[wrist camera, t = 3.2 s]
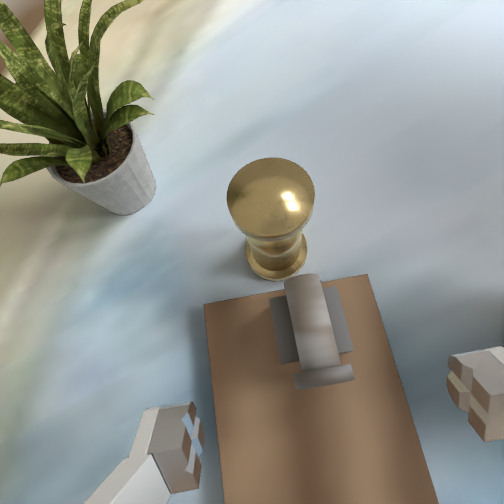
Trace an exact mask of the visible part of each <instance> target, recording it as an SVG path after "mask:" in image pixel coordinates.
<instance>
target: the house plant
mask: <svg viewBox="0 0 504 504" xmlns="http://www.w3.org/2000/svg"><path fill="white" fill-rule="evenodd" d="M142 1H144V0H125V1H123V2H120V3H118V4H116V5H114V6H113V7H111V8H110V9H109V10H108V11H107V12H106V13H104V14H103V15H102V17H101V18H100V20H99V21H98V23H97V25H96V26H95V28H94V31H93V34H92V36H91V41H90V47H89V23H90V13H91V2H92V0H83V2H82V6H81V9H80V15H79V27H78V36H79V46H78V47H77V48H76V50H75V51H74V52H72V55H71V58H70V60H69V59H68V55H67V50H66V45H65V40H64V33H63V26H64V25H66V24H63V23H62V14H61V0H44V12H45V22H46V29H47V36H46V40H45V45H46V51H47V54H48V56H49V59H50V62H51V64H52V66H53V68H54V71H55V72H54V71H53V70H52V69H51V67H50V66H49V65H48V63H47V62H46V60H45V59H44V57H43V55H42V54H41V52H40V51H39V49H38V48H37V46H36V45H35V43H34V42H33V40H32V39H31V37H30V36H29V35H28V33H27V32H26V30H25V29H24V27H23V26H22V25H21V23H20V22H19V21H18V19H17V18H16V17H15V16H14V14H13V13H12V12H11V11H10V9H9V8H8V7H7V6H6V5H5V4H4V3H3V2H1V1H0V28H1V29H2V31H3V32H4V34H5V35H6V37H7V38H8V40H9V41H10V43H11V44H12V45H13V47H14V48H15V50H16V51H17V53H18V54H19V56H20V57H21V58H22V59H21V58H20V57H19V56H18V55H17V54H15V53H14V52H13V51H12V50H11V49H9V48H8V47H7V46H6V45H5V44H3V43H2V42H1V41H0V56H2V57H3V58H4V61H5V64H6V66H7V68H8V70H9V72H10V74H11V75H12V77H13V78H14V80H15V81H16V83H15V84H14V83H13V82H11V81H10V80H8V79H7V78H5V77H4V76H2V75H1V74H0V108H1V109H2V110H3V111H5V112H6V113H7V114H9V115H10V116H12V117H14V118H15V119H17V120H19V121H20V122H22V123H24V124H26V125H23V124H17V123H12V122H8V121H3V120H0V128H1V129H7V130H12V131H17V132H22V133H27V134H33V135H38V136H43V137H45V138H46V139H47V140H48V141H49V144H41V143H15V144H0V153H1V154H6V155H13V156H29V155H39V156H38V157H30V158H24V159H20V160H17V161H14V162H13V163H12V164H10V165H9V166H8V167H7V169H6V170H5V171H4V173H3V176H2V179H1V182H0V186H1V184H2V183H4V182H9V181H14V180H16V179H19V178H22V177H24V176H26V175H29V174H31V173H33V172H36V171H38V170H41V169H43V168H46V167H47V169H48V171H49V173H50V174H51V176H52V177H53V178H54V179H56V180H57V181H58V182H60V183H61V184H63V185H65V186H66V187H68V188H70V189H72V190H73V191H75V192H77V193H79V194H80V195H82V196H84V197H86V198H87V199H89V200H91V201H93V202H94V203H96V204H98V205H100V206H102V207H103V208H105V209H107V210H109V211H110V212H112V213H115V214H118V215H129V214H133V213H135V212H137V211H139V210H140V209H142V208H143V207H145V206H146V205H147V204H148V203H149V202H150V201H151V200H152V198H153V196H154V194H155V190H156V182H155V179H154V176H153V174H152V171H151V169H150V166H149V164H148V161H147V158H146V156H145V153H144V151H143V148H142V146H141V143H140V141H139V138H138V135H137V133H136V130H135V128H134V125H133V123H132V122H131V121H133V120H134V119H136V118H138V117H139V116H143V115H146V114H152V113H150V112H148V111H146V110H145V109H143V108H141V107H140V106H138V105H126V104H129V103H131V102H133V101H135V100H137V99H140V98H142V97H150V98H152V97H151V96H150V95H149V93H148V92H147V91H146V90H145V89H144V87H143V86H142V85H141V84H140V83H138V82H135V81H130V80H127V81H125V82H123V83H121V84H120V85H119V86H118V87H117V88H116V89H115V90H114V91H113V93H112V94H111V96H110V98H109V101H108V103H107V109H103V108H102V103H101V98H100V93H99V78H98V66H99V55H100V40H101V38H102V36H103V34H104V33H105V31H106V30H107V28H108V27H109V26H110V24H111V23H112V22H113V20H114V19H115V18H116V17H117V16H118V15H119V14H120V13H121V12H123V11H125V10H127V9H128V8H130V7H133V6H135V5H137V4H139V3H141V2H142ZM79 49H80V54H77V52H78V50H79ZM76 54H77V55H76ZM55 73H56V74H55ZM86 91H87V97H88V105H87V102H86V97H85V95H86ZM152 99H153V98H152ZM153 100H154V99H153ZM90 105H91V110H92V111H91V110H90ZM124 105H126V106H124ZM122 106H123V107H122ZM120 107H121V108H120ZM118 108H119V109H118ZM115 110H116V111H115ZM152 115H154V114H152ZM31 127H32V128H31ZM45 156H46V157H45Z"/></svg>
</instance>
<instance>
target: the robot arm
mask: <svg viewBox="0 0 504 504" xmlns="http://www.w3.org/2000/svg"><path fill="white" fill-rule="evenodd" d="M448 366H449V368H450V369H451V372H450V373H449V374H448V375H447V387H448V391H449V394H450V396H451V398H452V399H453V401H454V403H455V404H456V405H457V407H458V408H459V409H461V410H463V411H465V412H467V413H468V414H469V416H468V421H469V423H470V424H471V425H472V427H473V428H474V429H475V431H476V432H477V433H478V435H479V436H480V437H481V439H482V440H483V441H484V442H487V441H494V440H502V439H504V347H501V346H499V347H493V348H488V349H483V350H476V351H471V352H466V353H460V354H455V355H450V357H449V358H448ZM195 415H196V407H195V405H194V402H192V401H190V402H183V403H176V404H170V405H163V406H158V407H151V408H146V410H145V411H144V412H143V414H142V417H141V420H140V424H139V427H138V430H137V433H136V436H135V439H134V442H133V445H132V448H131V451H130V454H129V457H128V458H125V459H123V460H122V461H121V462H120V463H119V464H118V466H117V467H116V468H115V469H114V470H113V471H112V472H111V473H110V475H109V476H108V477H107V478H106V479H105V480H104V481H103V482H102V483H101V485H100V486H99V487H98V488H97V489H96V490H95V491H94V492H93V493H92V495H91V496H90V497H89V498H88V499H87V500H86V501H85V502H84V503H83V504H167V502H168V500H169V499H170V497H171V494H174V493H179V492H184V491H189V490H194V489H199V482H200V473H201V463H200V461H199V458H198V457H199V456H200V454H201V453H202V452H203V444H204V436H203V427H202V423H201V420H200V419H199V418H198V417H196V416H195Z"/></svg>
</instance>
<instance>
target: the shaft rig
mask: <svg viewBox="0 0 504 504" xmlns="http://www.w3.org/2000/svg"><path fill="white" fill-rule="evenodd" d="M284 287H285V289H284V290H278V291H273V292H268V293H262V294H257V295H251V296H246V297H241V298H235V299H230V300H225V301H219V302H214V303H208V304H204V313H205V322H206V331H207V341H208V350H209V360H210V369H211V379H212V388H213V397H214V407H215V416H216V426H217V435H218V445H219V454H220V463H221V473H222V482H223V492H224V501H225V504H439V503H438V499H437V496H436V493H435V490H434V487H433V483H432V480H431V477H430V474H429V470H428V467H427V464H426V461H425V458H424V454H423V451H422V448H421V445H420V442H419V438H418V435H417V432H416V429H415V426H414V422H413V419H412V416H411V413H410V410H409V406H408V403H407V400H406V397H405V393H404V390H403V387H402V384H401V381H400V377H399V374H398V371H397V368H396V365H395V361H394V358H393V355H392V352H391V349H390V345H389V342H388V339H387V336H386V332H385V329H384V326H383V323H382V320H381V316H380V313H379V310H378V307H377V304H376V300H375V297H374V294H373V291H372V288H371V284H370V281H369V278H368V275H367V274H364V275H359V276H354V277H348V278H343V279H337V280H332V281H327V282H321V281H320V277H319V275H317V274H304V275H299V276H295V277H292V278H290V279H288V280H286V281H285V282H284Z"/></svg>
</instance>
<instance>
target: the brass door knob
mask: <svg viewBox="0 0 504 504" xmlns="http://www.w3.org/2000/svg"><path fill="white" fill-rule="evenodd" d="M314 196H315V193H314V186H313V183H312V180H311V178H310V176H309V175H308V174H307V172H306V171H305V170H304V169H303V168H301V167H300V166H299V165H297V164H296V163H294V162H292V161H289V160H286V159H282V158H263V159H259V160H256V161H253V162H251V163H249V164H247V165H246V166H244V167H243V168H242V169H240V170H239V171H238V172H237V173H236V174H235V176H234V177H233V178H232V180H231V182H230V184H229V187H228V191H227V204H228V208H229V211H230V214H231V216H232V219H233V221H234V223H235V225H236V226H237V227H238V228H239V229H240V230H241V231H242V232H243V233H244V234H246V236H247V241H246V246H245V253H246V258H247V260H248V263H249V265H250V267H251V269H252V270H253V271H254V272H255V273H256V274H257V275H258V276H260V277H261V278H263V279H266V280H269V281H283V280H287V279H289V278H291V277H293V276H294V275H296V274H297V273H298V272H299V271H300V270H301V268H302V267H303V265H304V263H305V260H306V254H307V244H306V240H305V237H304V235H303V234H302V228H303V227H304V226H305V225H306V224H307V222H308V221H309V219H310V217H311V214H312V211H313V204H314Z"/></svg>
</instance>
